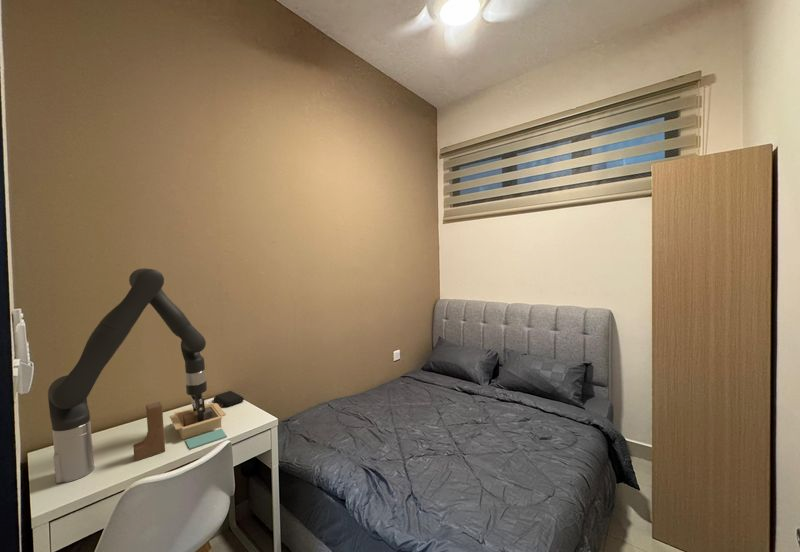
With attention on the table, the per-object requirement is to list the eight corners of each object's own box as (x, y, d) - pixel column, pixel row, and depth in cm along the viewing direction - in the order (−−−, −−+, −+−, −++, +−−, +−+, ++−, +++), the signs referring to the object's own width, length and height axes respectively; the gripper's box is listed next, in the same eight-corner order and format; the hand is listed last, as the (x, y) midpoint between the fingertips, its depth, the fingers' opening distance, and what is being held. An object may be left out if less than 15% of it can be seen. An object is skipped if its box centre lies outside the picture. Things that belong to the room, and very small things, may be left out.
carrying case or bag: (210, 402, 172) (223, 410, 163) (209, 396, 172) (223, 403, 163) (231, 394, 181) (245, 402, 171) (231, 389, 180) (245, 396, 171)
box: (186, 432, 142) (185, 418, 142) (183, 428, 146) (182, 414, 146) (213, 424, 149) (212, 410, 148) (210, 420, 153) (209, 407, 152)
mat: (189, 449, 130) (189, 448, 130) (185, 441, 136) (185, 440, 136) (226, 437, 138) (226, 435, 138) (221, 429, 144) (221, 428, 144)
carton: (177, 443, 134) (176, 431, 134) (169, 425, 149) (168, 414, 148) (227, 427, 146) (227, 415, 146) (216, 411, 161) (215, 401, 160)
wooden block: (135, 461, 123) (131, 412, 121) (134, 456, 126) (130, 408, 125) (165, 451, 129) (162, 404, 127) (163, 446, 132) (160, 401, 131)
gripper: (182, 379, 149) (185, 415, 150) (189, 388, 138) (192, 427, 140) (202, 374, 154) (204, 409, 155) (210, 383, 143) (212, 421, 145)
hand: (198, 418), depth 147 cm, fingers open, 8 cm apart
